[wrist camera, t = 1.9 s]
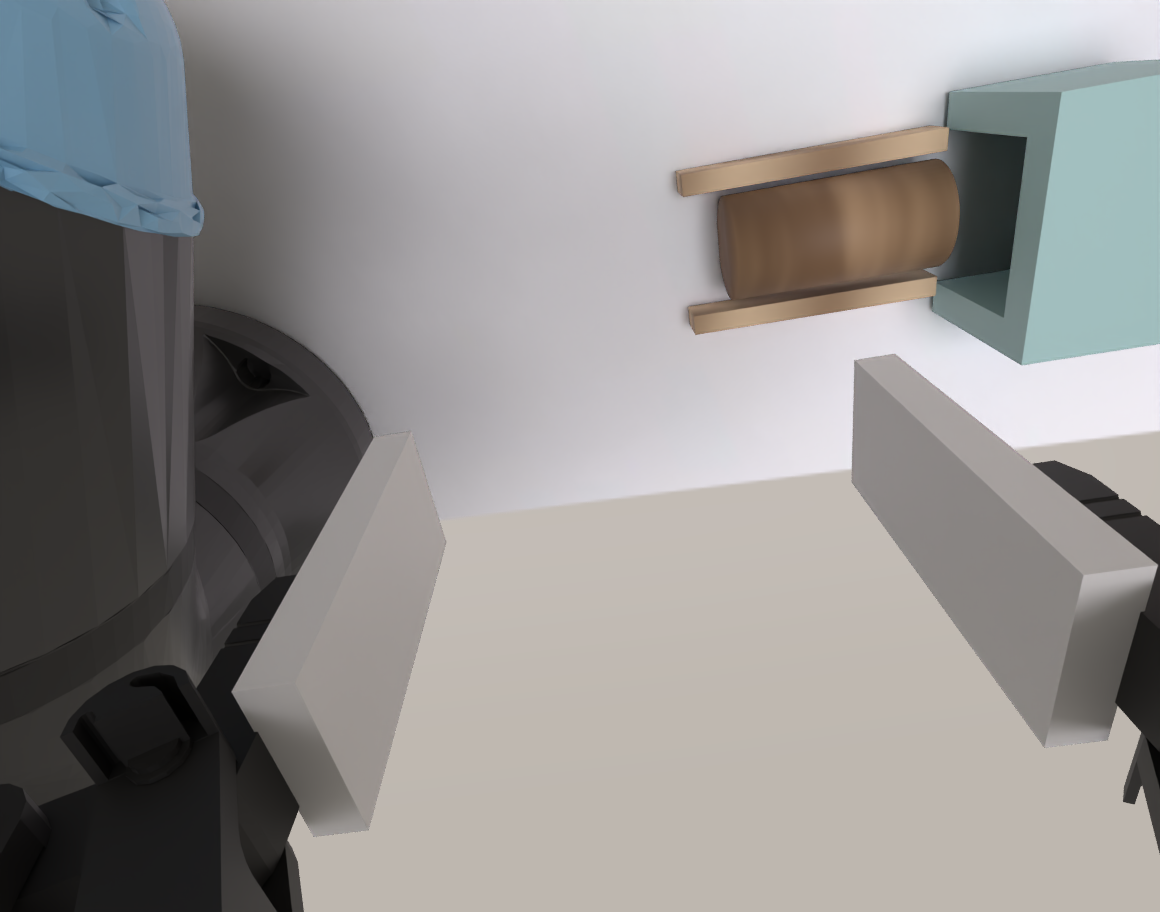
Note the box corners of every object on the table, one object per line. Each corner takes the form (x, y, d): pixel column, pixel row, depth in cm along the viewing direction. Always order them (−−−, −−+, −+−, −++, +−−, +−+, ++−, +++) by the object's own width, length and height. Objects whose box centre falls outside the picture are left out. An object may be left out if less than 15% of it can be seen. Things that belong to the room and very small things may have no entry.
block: (932, 311, 30) (1021, 365, 24) (949, 92, 26) (1061, 92, 20) (1073, 288, 30) (1199, 337, 24) (1113, 61, 26) (1276, 53, 20)
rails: (689, 324, 30) (695, 334, 29) (675, 170, 27) (681, 175, 26) (919, 286, 30) (935, 295, 28) (930, 125, 27) (949, 127, 25)
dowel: (722, 292, 30) (742, 308, 26) (713, 195, 28) (733, 196, 25) (909, 261, 29) (957, 272, 25) (910, 160, 28) (961, 156, 24)
